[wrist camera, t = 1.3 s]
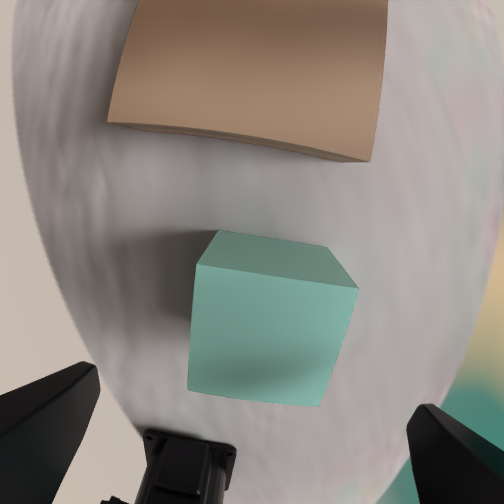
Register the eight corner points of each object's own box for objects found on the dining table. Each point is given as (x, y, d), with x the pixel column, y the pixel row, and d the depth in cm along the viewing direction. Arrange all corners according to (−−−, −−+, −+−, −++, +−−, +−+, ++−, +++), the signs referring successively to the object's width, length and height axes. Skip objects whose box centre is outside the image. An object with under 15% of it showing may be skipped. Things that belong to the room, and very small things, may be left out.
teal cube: (304, 339, 15) (318, 406, 10) (207, 326, 15) (187, 390, 10) (327, 246, 14) (359, 288, 9) (218, 229, 14) (196, 264, 9)
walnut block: (340, 162, 13) (370, 162, 9) (146, 131, 13) (106, 121, 9) (361, 2, 11) (388, -37, 7) (186, -23, 10) (167, -65, 7)
